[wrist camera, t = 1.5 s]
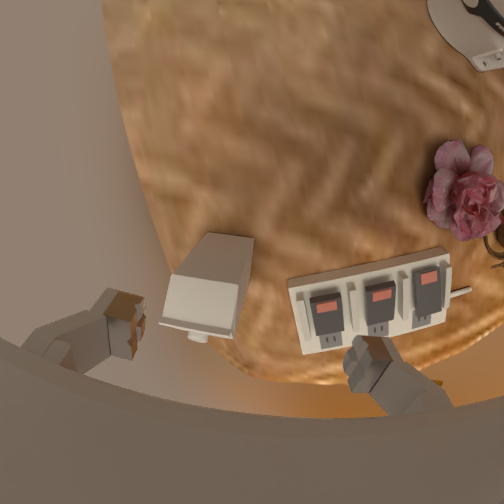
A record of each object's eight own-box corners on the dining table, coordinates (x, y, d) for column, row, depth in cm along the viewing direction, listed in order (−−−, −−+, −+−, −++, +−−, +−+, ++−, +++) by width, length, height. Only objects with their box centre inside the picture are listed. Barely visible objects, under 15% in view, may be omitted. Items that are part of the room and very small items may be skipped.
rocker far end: (339, 289, 39) (341, 298, 37) (342, 322, 43) (344, 332, 41) (308, 295, 40) (310, 305, 38) (315, 328, 44) (316, 337, 42)
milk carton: (207, 231, 43) (156, 292, 26) (254, 237, 43) (231, 305, 25) (205, 274, 46) (161, 349, 28) (249, 280, 45) (226, 363, 28)
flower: (418, 130, 31) (463, 156, 24) (486, 140, 31) (528, 166, 23) (404, 223, 40) (434, 263, 33) (468, 219, 40) (499, 253, 32)
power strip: (472, 238, 38) (490, 250, 33) (467, 303, 42) (481, 319, 37) (288, 279, 45) (288, 297, 39) (302, 343, 49) (303, 365, 44)
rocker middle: (392, 277, 38) (396, 286, 36) (390, 312, 41) (394, 321, 39) (363, 284, 38) (367, 293, 37) (364, 318, 42) (367, 327, 40)
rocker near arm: (435, 265, 38) (441, 268, 36) (437, 307, 38) (442, 311, 36) (411, 271, 38) (415, 274, 36) (414, 314, 39) (418, 318, 37)
